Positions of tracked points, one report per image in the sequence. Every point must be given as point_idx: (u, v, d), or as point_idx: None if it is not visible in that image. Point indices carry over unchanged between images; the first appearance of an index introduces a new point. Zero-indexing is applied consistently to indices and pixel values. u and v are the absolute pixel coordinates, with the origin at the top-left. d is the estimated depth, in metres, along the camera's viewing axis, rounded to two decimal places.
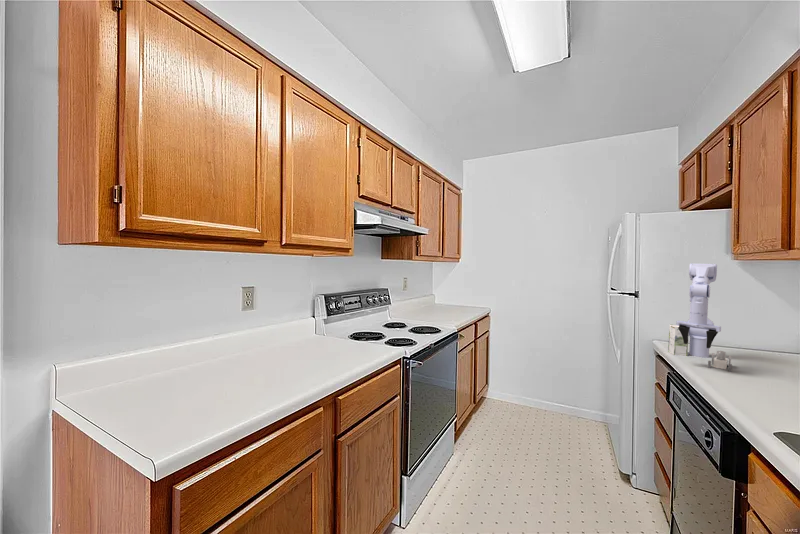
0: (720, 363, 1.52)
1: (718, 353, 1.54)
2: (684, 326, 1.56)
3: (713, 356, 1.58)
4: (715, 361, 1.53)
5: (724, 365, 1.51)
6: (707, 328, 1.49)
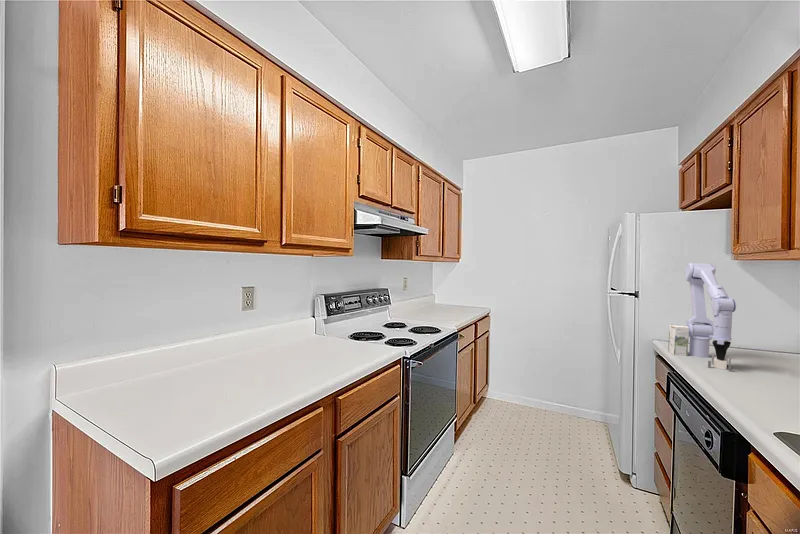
0: (720, 363, 1.52)
1: None
2: None
3: (713, 356, 1.58)
4: (715, 361, 1.53)
5: (724, 365, 1.51)
6: None
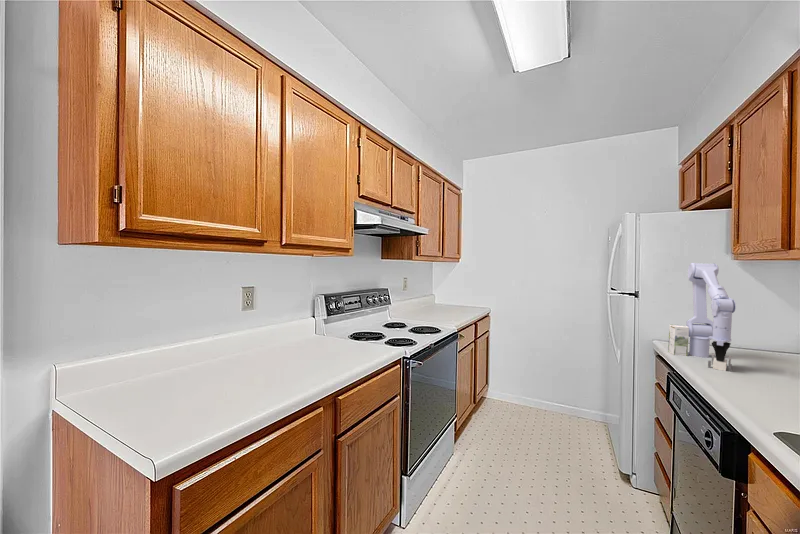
0: (719, 365, 1.50)
1: None
2: None
3: (713, 356, 1.58)
4: (714, 362, 1.51)
5: (724, 366, 1.49)
6: None
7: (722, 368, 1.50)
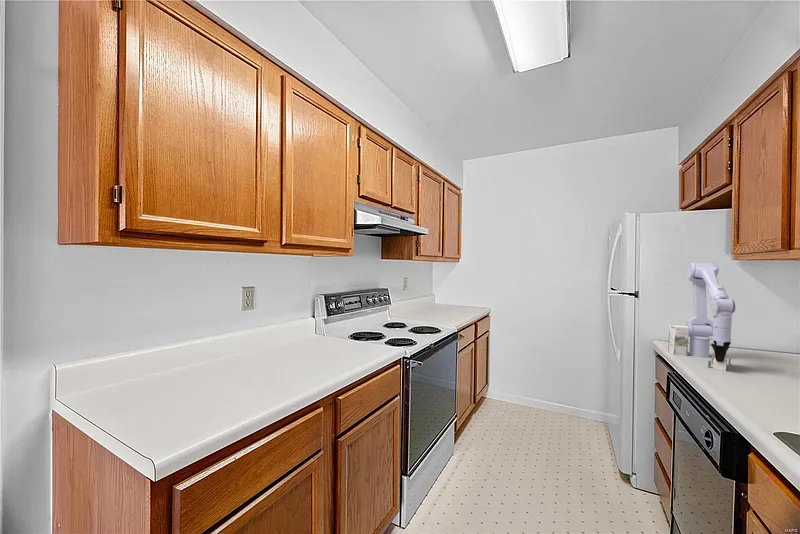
0: (719, 365, 1.50)
1: None
2: None
3: (713, 356, 1.58)
4: (714, 362, 1.51)
5: (724, 366, 1.49)
6: None
7: (722, 368, 1.50)
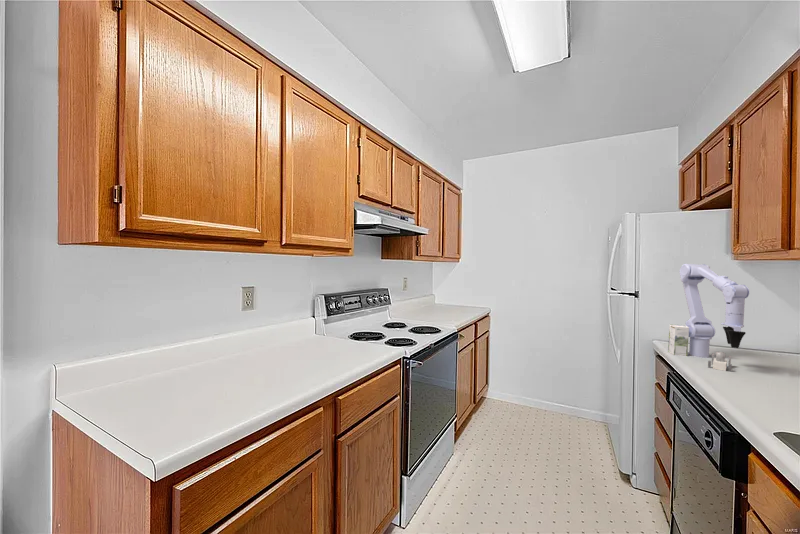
0: (719, 365, 1.50)
1: (717, 354, 1.52)
2: (729, 326, 1.58)
3: (713, 356, 1.58)
4: (714, 362, 1.51)
5: (724, 366, 1.49)
6: None
7: (722, 368, 1.50)
